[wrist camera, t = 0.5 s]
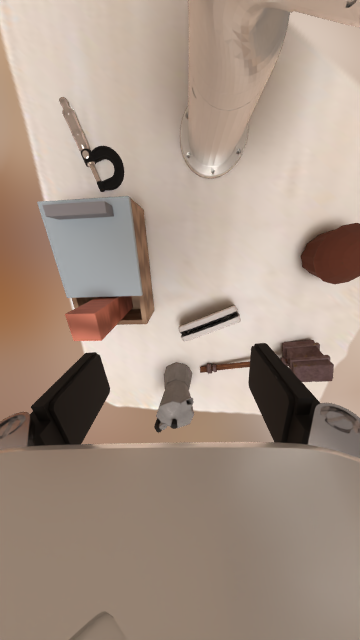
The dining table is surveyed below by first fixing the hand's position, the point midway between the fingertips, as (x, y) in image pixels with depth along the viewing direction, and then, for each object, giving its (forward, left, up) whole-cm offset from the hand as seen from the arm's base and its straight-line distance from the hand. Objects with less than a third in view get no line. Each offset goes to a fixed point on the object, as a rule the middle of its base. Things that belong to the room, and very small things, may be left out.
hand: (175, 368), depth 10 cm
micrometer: (-26, -17, -36) cm, 48 cm away
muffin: (-4, +32, -36) cm, 48 cm away
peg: (+5, -17, -34) cm, 39 cm away
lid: (-7, -17, -26) cm, 32 cm away
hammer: (+25, +20, -36) cm, 48 cm away
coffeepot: (+32, -4, -36) cm, 48 cm away
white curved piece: (+12, +6, -36) cm, 38 cm away
